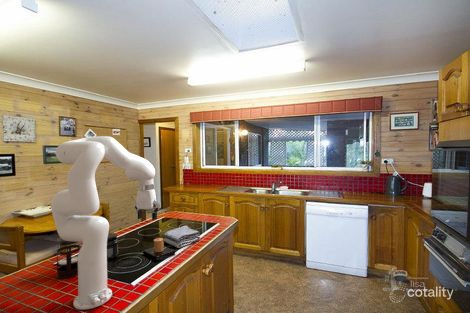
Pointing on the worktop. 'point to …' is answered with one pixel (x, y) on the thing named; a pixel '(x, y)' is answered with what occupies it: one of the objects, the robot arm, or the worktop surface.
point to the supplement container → (112, 246)
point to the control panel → (158, 253)
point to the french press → (67, 260)
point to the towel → (181, 236)
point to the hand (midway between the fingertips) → (147, 219)
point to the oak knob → (158, 245)
